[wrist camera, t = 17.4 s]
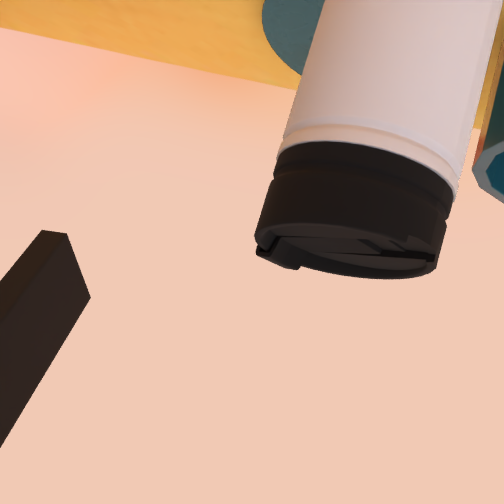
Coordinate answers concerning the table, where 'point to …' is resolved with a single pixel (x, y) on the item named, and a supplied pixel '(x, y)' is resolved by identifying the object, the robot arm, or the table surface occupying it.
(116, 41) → the table surface
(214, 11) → the table surface
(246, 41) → the table surface
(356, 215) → the travel mug
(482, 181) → the pot
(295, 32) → the lid
